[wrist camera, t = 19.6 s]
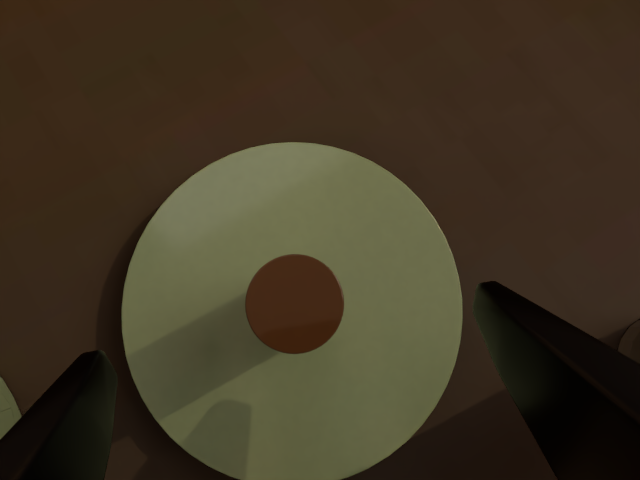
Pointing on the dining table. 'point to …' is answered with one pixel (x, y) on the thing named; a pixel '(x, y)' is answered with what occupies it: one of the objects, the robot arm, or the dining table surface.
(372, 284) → the lid
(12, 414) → the jar
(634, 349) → the beverage cup
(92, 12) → the dining table surface
